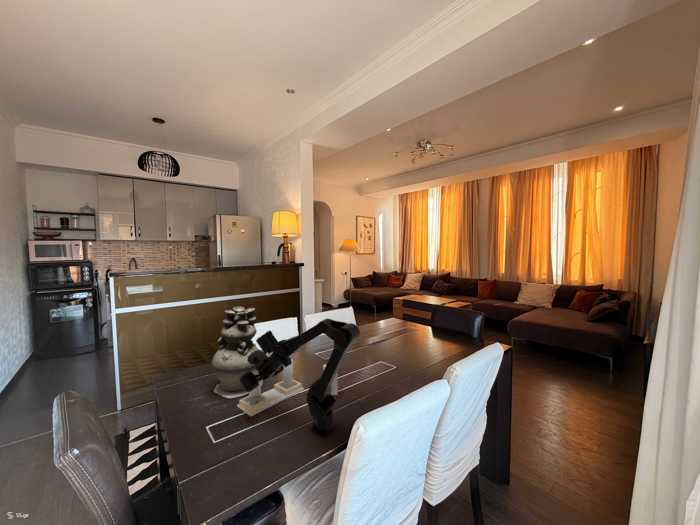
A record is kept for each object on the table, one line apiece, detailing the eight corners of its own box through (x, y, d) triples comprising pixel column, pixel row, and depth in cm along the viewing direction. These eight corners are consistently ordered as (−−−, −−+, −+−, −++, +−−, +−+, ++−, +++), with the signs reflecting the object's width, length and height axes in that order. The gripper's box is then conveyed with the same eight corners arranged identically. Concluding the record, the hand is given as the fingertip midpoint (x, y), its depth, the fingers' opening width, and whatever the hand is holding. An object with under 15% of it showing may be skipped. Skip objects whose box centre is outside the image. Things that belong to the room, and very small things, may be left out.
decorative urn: (272, 383, 130) (273, 308, 128) (232, 404, 112) (233, 316, 110) (241, 371, 141) (243, 302, 139) (200, 389, 122) (201, 309, 121)
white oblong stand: (303, 389, 123) (303, 360, 122) (250, 416, 104) (250, 382, 103) (289, 382, 129) (289, 354, 129) (237, 406, 110) (236, 373, 109)
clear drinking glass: (262, 405, 110) (261, 374, 109) (250, 408, 107) (249, 377, 107) (259, 400, 113) (258, 370, 113) (248, 403, 111) (247, 372, 110)
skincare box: (337, 390, 123) (337, 363, 122) (338, 395, 118) (338, 367, 117) (323, 391, 122) (323, 363, 121) (323, 396, 118) (323, 368, 117)
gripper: (277, 338, 116) (257, 359, 121) (243, 353, 99) (221, 378, 104) (293, 360, 113) (272, 381, 118) (260, 380, 96) (237, 403, 101)
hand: (251, 385), depth 111 cm, fingers open, 9 cm apart
